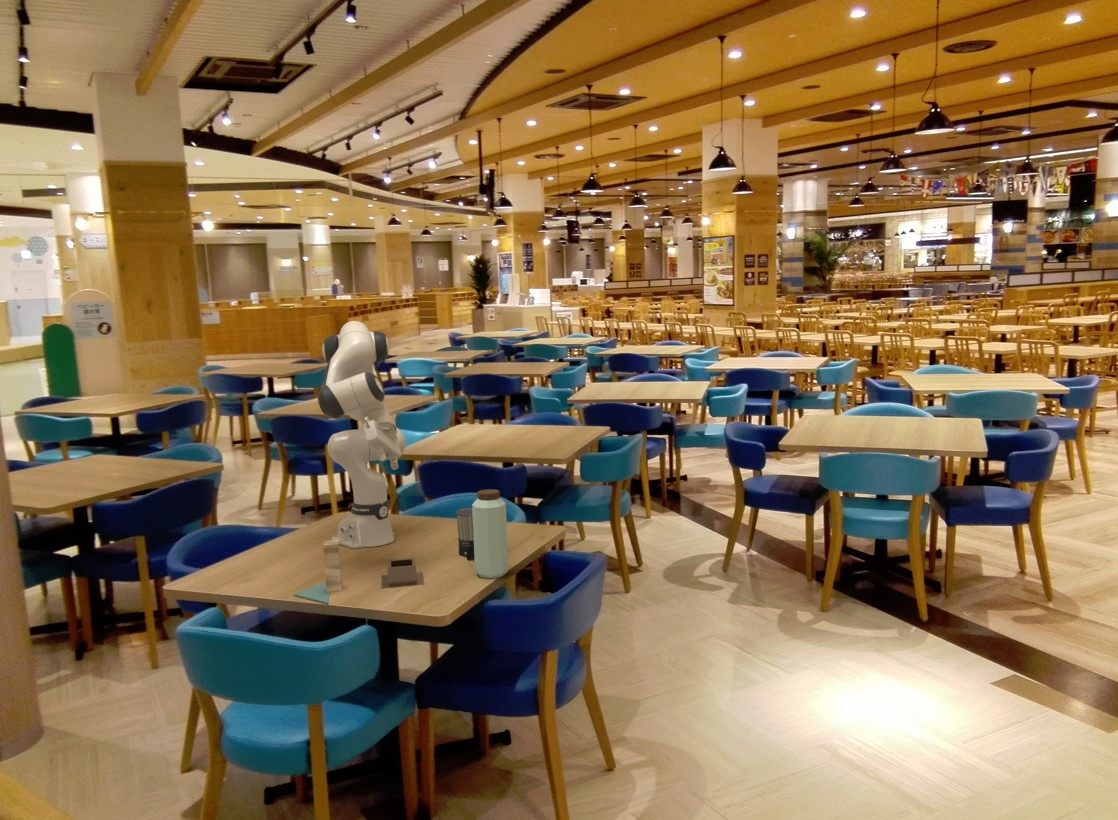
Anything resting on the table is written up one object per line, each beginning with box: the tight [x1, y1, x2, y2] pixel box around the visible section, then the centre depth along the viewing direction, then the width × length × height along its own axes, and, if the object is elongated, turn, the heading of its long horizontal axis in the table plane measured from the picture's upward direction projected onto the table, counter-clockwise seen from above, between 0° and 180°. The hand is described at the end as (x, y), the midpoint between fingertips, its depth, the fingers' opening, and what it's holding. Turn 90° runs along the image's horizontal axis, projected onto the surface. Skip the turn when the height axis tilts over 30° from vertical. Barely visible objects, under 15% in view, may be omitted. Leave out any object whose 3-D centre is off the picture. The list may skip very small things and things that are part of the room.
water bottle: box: [471, 488, 510, 579], centre depth 257 cm, size 10×10×25 cm
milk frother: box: [455, 507, 475, 561], centre depth 279 cm, size 14×16×15 cm
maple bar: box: [323, 540, 343, 594], centre depth 246 cm, size 4×4×14 cm
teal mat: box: [293, 581, 331, 605], centre depth 247 cm, size 16×16×1 cm
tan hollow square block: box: [380, 557, 425, 589], centre depth 252 cm, size 12×12×6 cm
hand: (389, 464), depth 258 cm, fingers open, 8 cm apart
